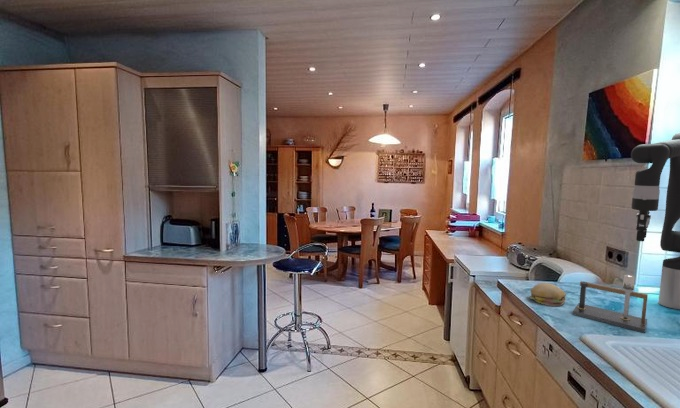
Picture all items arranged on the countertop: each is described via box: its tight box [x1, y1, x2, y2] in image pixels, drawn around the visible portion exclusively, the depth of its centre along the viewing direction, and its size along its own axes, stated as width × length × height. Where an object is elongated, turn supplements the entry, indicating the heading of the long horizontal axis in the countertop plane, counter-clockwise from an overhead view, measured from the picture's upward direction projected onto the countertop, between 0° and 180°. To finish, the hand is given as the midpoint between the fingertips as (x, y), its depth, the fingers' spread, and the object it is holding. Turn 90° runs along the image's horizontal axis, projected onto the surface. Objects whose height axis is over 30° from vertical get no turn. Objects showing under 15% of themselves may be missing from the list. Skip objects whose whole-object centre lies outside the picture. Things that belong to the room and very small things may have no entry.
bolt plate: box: [572, 280, 649, 334], centre depth 134 cm, size 12×22×12 cm, turn 45°
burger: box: [529, 282, 567, 307], centre depth 152 cm, size 13×14×8 cm
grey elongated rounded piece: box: [622, 274, 636, 318], centre depth 130 cm, size 5×3×17 cm
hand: (641, 239), depth 130 cm, fingers open, 8 cm apart
